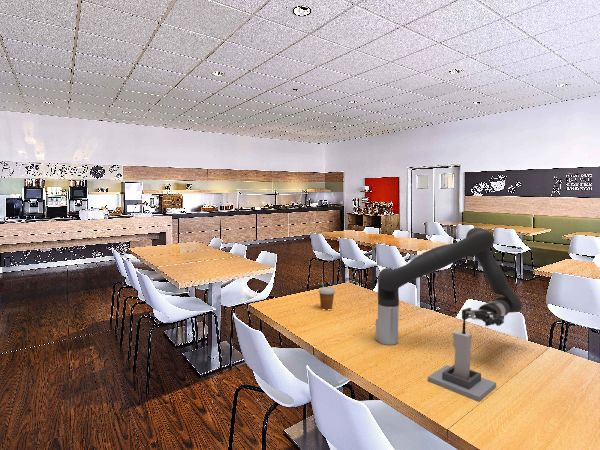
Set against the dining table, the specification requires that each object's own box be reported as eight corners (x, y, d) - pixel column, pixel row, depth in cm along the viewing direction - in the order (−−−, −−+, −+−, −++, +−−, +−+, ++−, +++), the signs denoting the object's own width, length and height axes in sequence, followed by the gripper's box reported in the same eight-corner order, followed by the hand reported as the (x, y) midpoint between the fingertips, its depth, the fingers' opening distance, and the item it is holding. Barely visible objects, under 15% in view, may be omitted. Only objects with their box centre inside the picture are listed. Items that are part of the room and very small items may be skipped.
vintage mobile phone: (455, 374, 135) (457, 307, 133) (469, 379, 131) (472, 310, 130) (451, 378, 132) (453, 309, 130) (465, 383, 129) (468, 312, 127)
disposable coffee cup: (317, 311, 214) (317, 290, 213) (319, 306, 223) (319, 286, 222) (334, 312, 212) (334, 291, 211) (335, 307, 221) (335, 287, 220)
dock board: (427, 380, 133) (427, 370, 133) (446, 368, 143) (446, 358, 142) (479, 401, 120) (479, 389, 120) (496, 386, 129) (496, 375, 129)
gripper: (474, 298, 156) (456, 306, 145) (511, 306, 145) (495, 315, 134) (473, 316, 156) (455, 324, 146) (510, 325, 146) (493, 335, 135)
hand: (474, 320), depth 140 cm, fingers open, 8 cm apart
